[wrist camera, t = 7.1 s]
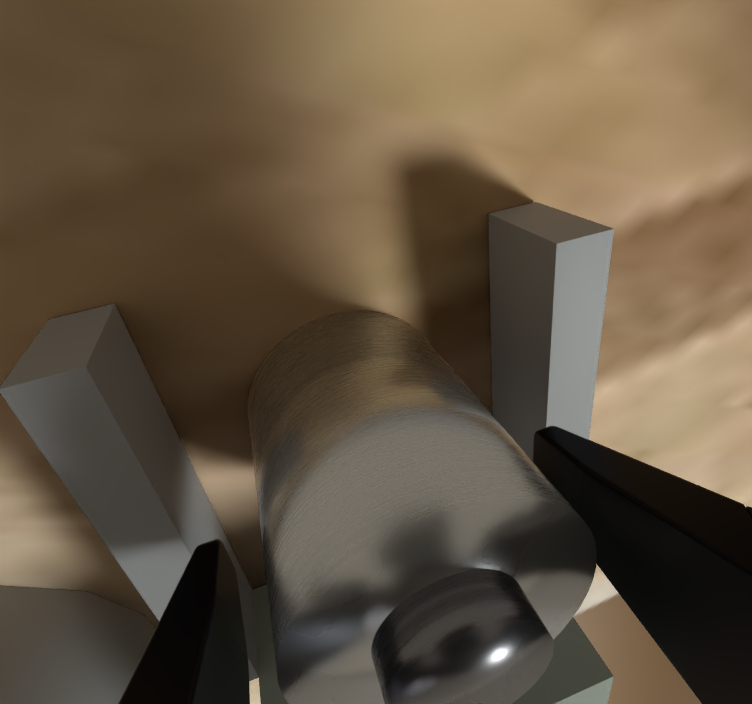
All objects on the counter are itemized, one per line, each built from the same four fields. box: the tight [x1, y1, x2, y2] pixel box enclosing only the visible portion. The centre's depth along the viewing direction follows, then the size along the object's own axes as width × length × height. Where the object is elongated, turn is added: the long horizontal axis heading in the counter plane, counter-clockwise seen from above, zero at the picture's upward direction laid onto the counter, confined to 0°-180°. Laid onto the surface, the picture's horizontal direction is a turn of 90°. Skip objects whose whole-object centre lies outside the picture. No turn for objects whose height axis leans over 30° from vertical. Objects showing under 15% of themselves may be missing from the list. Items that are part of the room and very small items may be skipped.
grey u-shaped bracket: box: [0, 202, 614, 704], centre depth 11 cm, size 10×14×6 cm
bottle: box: [248, 311, 597, 704], centre depth 9 cm, size 5×5×7 cm
